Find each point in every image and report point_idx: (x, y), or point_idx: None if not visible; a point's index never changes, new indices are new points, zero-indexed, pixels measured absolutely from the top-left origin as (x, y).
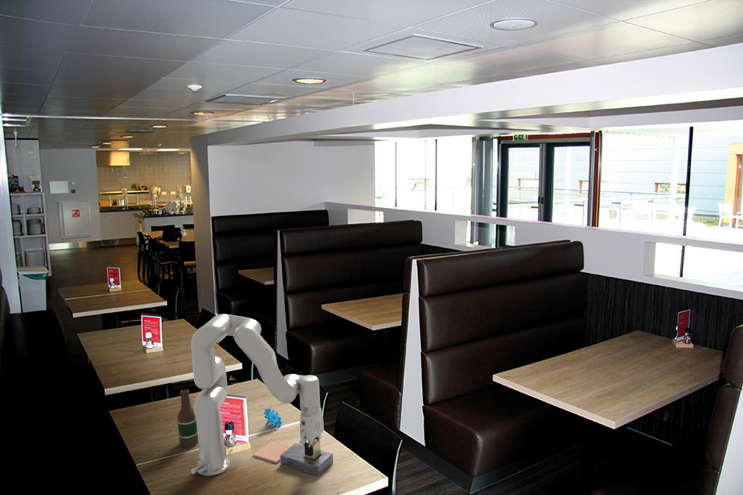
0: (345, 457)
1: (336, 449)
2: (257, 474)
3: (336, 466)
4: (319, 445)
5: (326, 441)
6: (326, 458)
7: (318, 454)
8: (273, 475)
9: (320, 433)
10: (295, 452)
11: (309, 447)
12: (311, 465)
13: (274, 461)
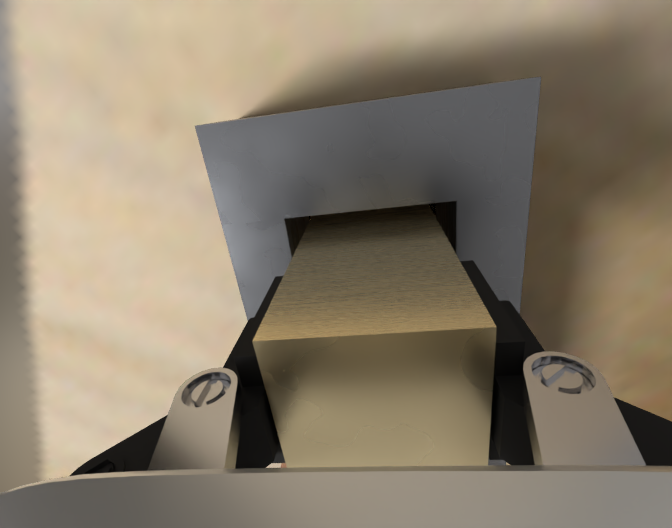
0: (91, 77)
1: (79, 238)
2: None
3: (258, 43)
4: (294, 292)
5: (75, 360)
6: (324, 116)
7: (345, 237)
8: (620, 397)
9: (170, 486)
10: None
11: (567, 357)
12: (523, 187)
13: None
